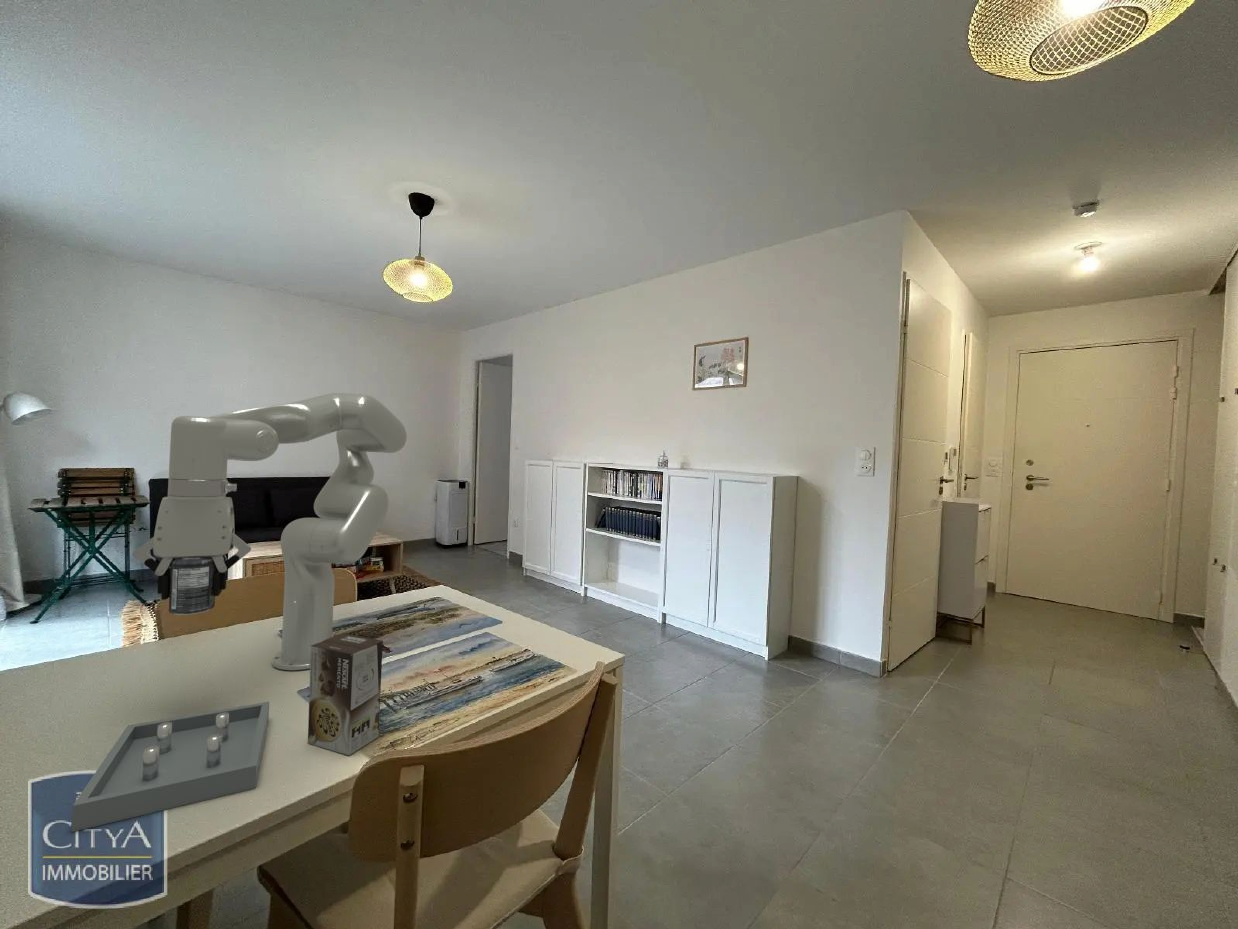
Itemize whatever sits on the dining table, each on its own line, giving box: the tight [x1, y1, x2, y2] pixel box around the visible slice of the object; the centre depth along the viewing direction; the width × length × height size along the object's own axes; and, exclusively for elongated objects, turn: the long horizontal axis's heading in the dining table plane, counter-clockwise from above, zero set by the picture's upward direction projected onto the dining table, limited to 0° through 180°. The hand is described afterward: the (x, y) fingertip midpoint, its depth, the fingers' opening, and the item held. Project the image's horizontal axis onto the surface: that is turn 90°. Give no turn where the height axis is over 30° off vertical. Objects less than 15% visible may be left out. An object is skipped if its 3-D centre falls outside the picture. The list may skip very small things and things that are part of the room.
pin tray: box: [71, 701, 270, 833], centre depth 73 cm, size 18×20×5 cm
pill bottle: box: [168, 556, 217, 616], centre depth 84 cm, size 6×6×11 cm
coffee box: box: [307, 633, 384, 756], centre depth 82 cm, size 9×6×16 cm
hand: (192, 594), depth 84 cm, fingers closed on pill bottle, 6 cm apart
